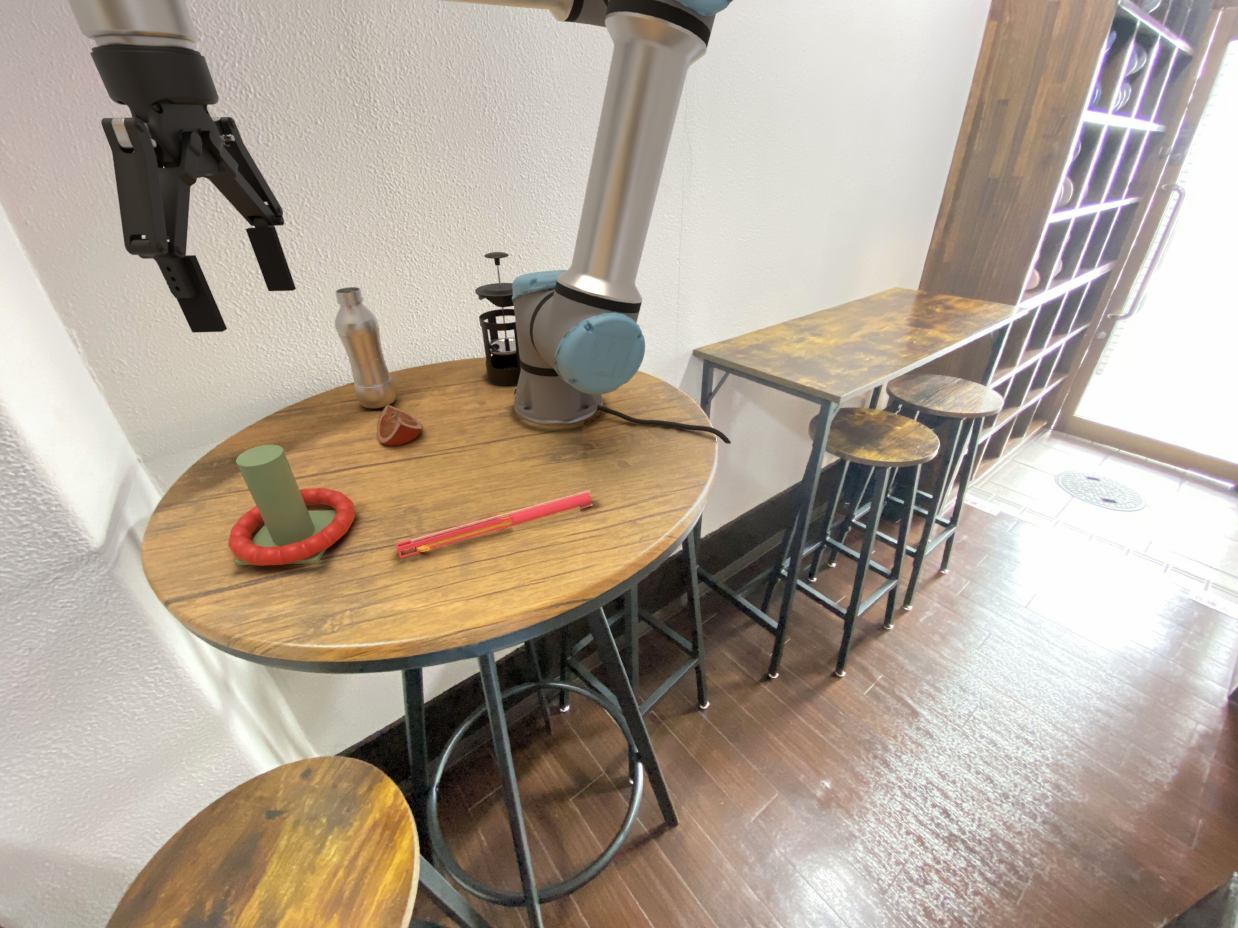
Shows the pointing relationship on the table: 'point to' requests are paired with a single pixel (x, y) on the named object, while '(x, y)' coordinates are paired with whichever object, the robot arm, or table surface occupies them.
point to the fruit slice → (397, 427)
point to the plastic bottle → (363, 349)
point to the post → (279, 501)
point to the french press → (505, 347)
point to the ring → (298, 550)
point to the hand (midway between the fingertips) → (250, 308)
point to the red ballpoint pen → (494, 523)
